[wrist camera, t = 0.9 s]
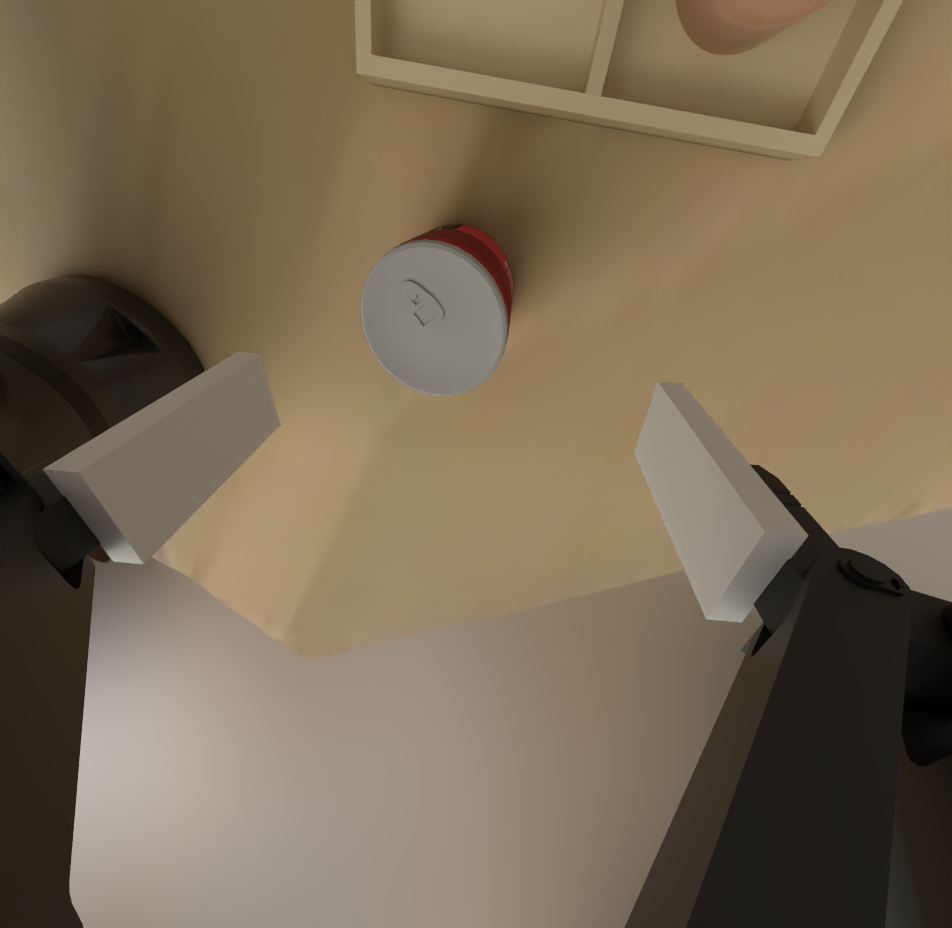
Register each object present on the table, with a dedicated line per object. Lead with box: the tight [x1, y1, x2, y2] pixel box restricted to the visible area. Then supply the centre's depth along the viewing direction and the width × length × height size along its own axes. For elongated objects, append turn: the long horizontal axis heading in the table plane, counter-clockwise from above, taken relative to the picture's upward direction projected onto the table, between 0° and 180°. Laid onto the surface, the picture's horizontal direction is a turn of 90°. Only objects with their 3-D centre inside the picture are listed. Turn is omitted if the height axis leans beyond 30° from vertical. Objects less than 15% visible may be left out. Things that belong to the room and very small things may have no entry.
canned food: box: [360, 224, 513, 396], centre depth 25 cm, size 8×8×11 cm
